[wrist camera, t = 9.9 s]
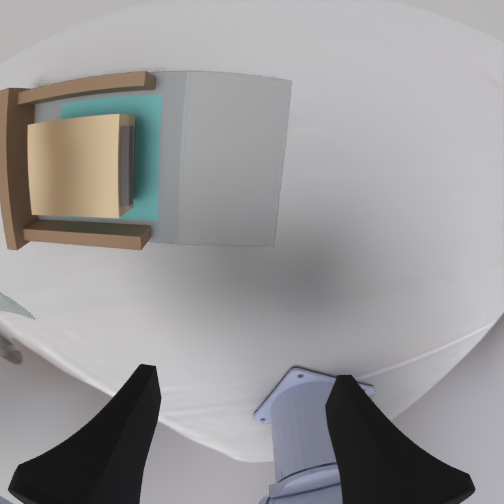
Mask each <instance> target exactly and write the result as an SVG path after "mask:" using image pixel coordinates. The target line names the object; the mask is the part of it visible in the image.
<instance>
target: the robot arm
mask: <svg viewBox="0 0 504 504" xmlns="http://www.w3.org/2000/svg"><path fill="white" fill-rule="evenodd" d="M300 374H302V375H300ZM374 392H375V389H374V387H373V386H368V385H363V384H359V383H357V381H356V380H355V379H354V378H353V377H352V375H337V378H334V377H330V376H326V375H322V374H318V373H314V372H310V371H307V370H303V369H300V368H293V369H291V370H290V371H289V372H288V374H287V375H286V376H285V378H284V379H283V380H282V381H281V383H280V384H279V385H278V386H277V387H276V389H275V390H274V391H273V392H272V394H271V395H270V396H269V397H268V398H267V400H266V401H265V402H264V403H263V404H262V406H261V407H260V408H259V409H258V410H257V411H256V413H255V414H254V415H253V419H254V420H255V421H259V422H264V423H269V424H271V426H272V438H273V451H274V463H275V477H276V484H272V485H269V496H265V497H263V498H262V499H261V500H260V502H259V504H460V503H461V502H463V501H464V500H465V499H467V498H468V497H469V496H471V495H472V494H473V493H474V492H475V486H474V484H473V482H472V480H471V477H470V475H469V474H467V473H465V472H463V471H460V470H458V469H456V468H454V467H451V466H449V465H447V464H446V463H444V462H442V461H440V460H438V459H436V458H435V457H433V456H432V455H430V454H429V453H427V452H426V451H424V450H423V449H421V448H420V447H419V446H417V445H416V444H415V443H414V442H412V441H411V440H410V439H409V438H408V437H406V436H405V435H404V434H403V433H402V432H401V431H400V430H399V429H398V428H396V427H395V425H393V423H392V422H391V421H390V420H389V419H388V418H387V417H386V416H385V415H384V414H383V413H382V412H381V411H380V409H379V408H378V407H377V406H376V405H375V404H374V402H373V401H372V400H371V398H370V396H371V395H372V394H373V393H374ZM160 404H161V393H160V387H159V382H158V376H157V370H156V366H152V365H145V364H140V365H139V366H138V368H137V369H136V370H135V372H134V373H133V374H132V375H131V377H130V378H129V379H128V381H127V382H126V383H125V384H124V385H123V387H122V388H121V389H120V390H119V391H118V392H117V394H116V395H115V396H114V397H113V398H112V399H111V400H110V402H109V403H108V404H107V405H106V406H105V407H104V408H103V409H102V410H101V411H100V412H99V413H98V414H97V415H96V416H95V417H94V418H93V419H92V420H90V421H89V422H88V423H87V424H86V425H85V426H84V427H82V428H81V429H80V430H79V431H77V432H76V433H75V434H74V435H72V436H71V437H69V438H68V439H67V440H65V441H64V442H62V443H61V444H59V445H57V446H56V447H54V448H53V449H51V450H49V451H47V452H45V453H44V454H42V455H40V456H38V457H36V458H34V459H31V460H29V461H27V462H24V463H22V464H20V465H18V467H17V469H16V471H15V472H14V475H13V477H12V480H11V483H10V485H9V488H8V491H9V492H10V493H11V494H12V495H13V496H14V497H16V498H17V499H18V500H19V501H21V502H22V503H24V504H139V502H140V493H141V485H142V478H143V471H144V467H145V462H146V459H147V455H148V452H149V448H150V445H151V441H152V438H153V435H154V431H155V427H156V424H157V421H158V416H159V410H160ZM0 504H13V503H11V502H9V501H8V500H6V499H4V498H3V497H1V496H0Z"/></svg>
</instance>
